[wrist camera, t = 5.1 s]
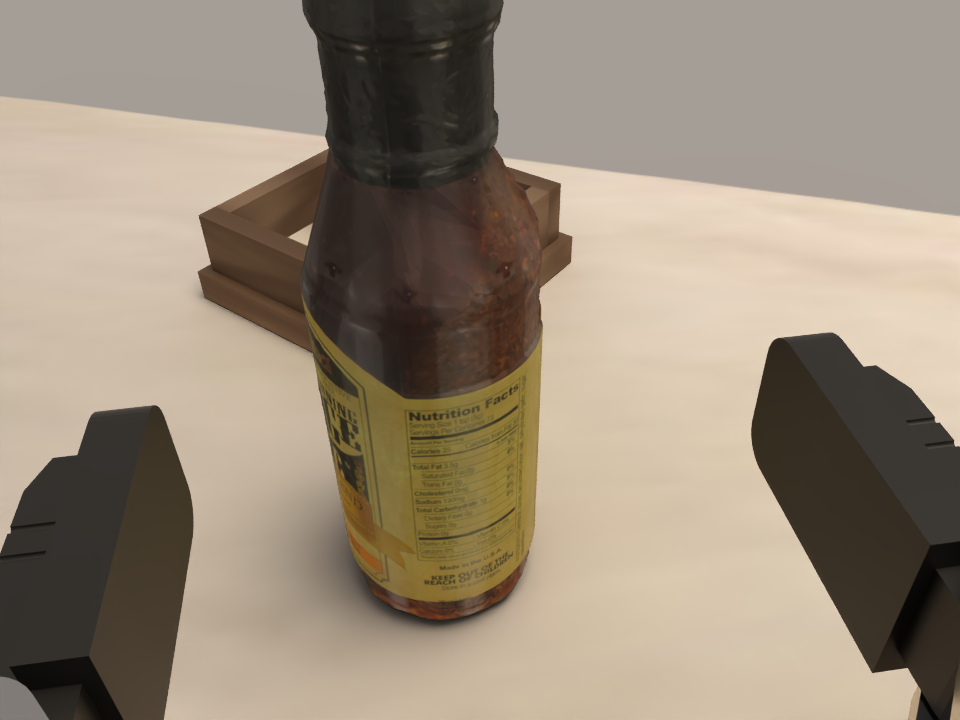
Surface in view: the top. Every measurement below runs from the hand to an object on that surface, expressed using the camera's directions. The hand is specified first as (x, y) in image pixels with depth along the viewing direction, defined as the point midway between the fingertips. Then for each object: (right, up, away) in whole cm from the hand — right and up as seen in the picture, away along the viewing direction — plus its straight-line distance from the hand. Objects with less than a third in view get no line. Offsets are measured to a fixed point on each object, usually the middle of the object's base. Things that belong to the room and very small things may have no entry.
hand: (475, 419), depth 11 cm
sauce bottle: (-1, -6, +18) cm, 19 cm away
